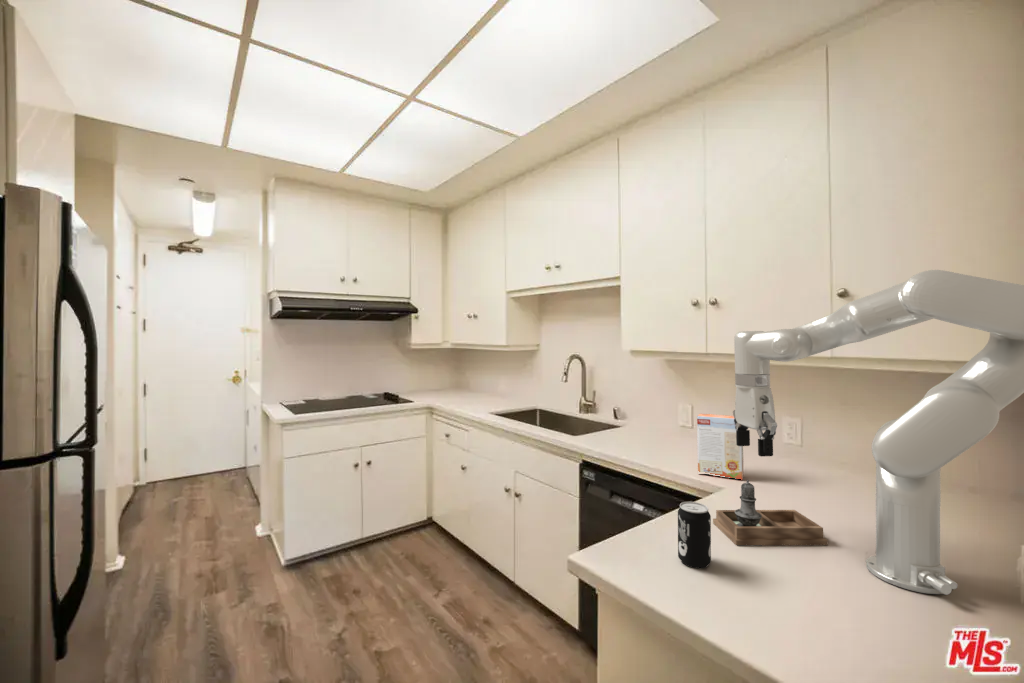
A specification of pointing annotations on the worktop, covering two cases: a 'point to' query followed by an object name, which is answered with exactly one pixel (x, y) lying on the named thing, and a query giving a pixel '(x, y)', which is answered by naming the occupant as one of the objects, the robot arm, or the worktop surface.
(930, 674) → the worktop surface
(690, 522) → the beverage can
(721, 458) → the cracker box
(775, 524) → the wooden divided tray
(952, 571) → the worktop surface
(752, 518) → the salt shaker
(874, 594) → the worktop surface
